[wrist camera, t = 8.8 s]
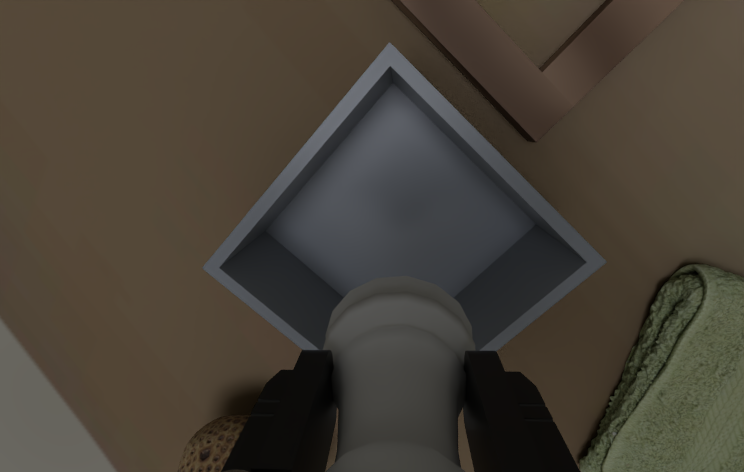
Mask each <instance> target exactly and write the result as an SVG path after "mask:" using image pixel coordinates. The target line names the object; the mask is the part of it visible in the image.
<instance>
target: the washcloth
mask: <svg viewBox="0 0 744 472" xmlns="http://www.w3.org/2000/svg"><path fill="white" fill-rule="evenodd" d="M622 375H623V376H622V380H621V382H620V384H619V385H618V386H617V387H618V389H617V390H615V393H614V396H611V397H610V399H611V400H612V402H609V405H610V407H608V408H607V409H606V411H607V413H606V416H605V417H604V419H602V420H601V424H600V425H599V426H600V429H599V430H597V432H598V436H597V437H596V438H594V439H592V441H591V442H592V443H591V447H590V448H588V454H587V456H584V457H583V458H582V459H580V466H579V469H580V471H581V472H744V278H743V277H742V276H739V275H736V274H733V273H731V272H725V271H723V270H721V269H719V268H717V267H712V266H709V265H706V264H695V265H694V264H690V265H687V266H684V267H682V268H681V269H679V270H678V271H677V272H676V273H675V274H673V275H672V276H671V278H670V279H669V281H668V282H666V283H665V284H664V286H663V287H662V288H661V290H660V291H659V292H658V293H657V297H656V300H655V301H654V303H653V304H652V306H651V308H650V315H649V317H648V318H647V319H646V321H645V323H644V325H643V328H642V329H641V331H640V334H639V342H638V343H637V344H636V345H635V346H634V347H633V348H632V350H631V353H630V356H629V358H628V360H627V362H626V367H625V370H624V372H623V374H622Z"/></svg>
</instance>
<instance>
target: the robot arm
mask: <svg viewBox="0 0 744 472" xmlns="http://www.w3.org/2000/svg"><path fill="white" fill-rule="evenodd" d="M333 369H334V365H333V355H332V351H331V350H302V352H301V353H300V356H299V358H298V360H297V363H296V365H295V367H294V370H280V371H279V372H278V373H277V374H276V375H275V376H274V377H273V378H272V379H270V380H269V381H268V382H267V383H266V385H265V387H264V389H263V391H262V393H261V395H260V397H259V398H258V402H256V404H255V406H254V408H253V410H252V412H251V416H249V418H248V420H247V422H246V424H245V426H244V428H243V430H242V432H241V433H240V435H239V437H238V439H237V441H236V443H235V445H234V447H233V449H232V451H231V453H230V455H229V457H228V459H227V461H226V463H225V465H224V466H223V468H222V470H221V472H325V469H326V465H327V460H328V455H329V451H330V446H331V441H332V437H333V432H334V427H335V422H336V410H337V406H336V405H335V404H334V401H333V392H332V382H331V375H332V372H333ZM464 371H465V373H466V401H465V403H464V405H463V413H464V423H465V429H466V434H467V438H468V443H469V448H470V452H471V457H472V462H473V467H474V471H475V472H580V471H579V469H578V467H577V465H576V463H575V461H574V459H573V457H572V455H571V453H570V451H569V449H568V447H567V445H566V443H565V442H564V440H563V438H562V436H561V434H560V432H559V430H558V428H557V426H556V424H555V422H553V418H552V416H551V414H550V412H549V410H548V408H547V407H545V403H544V401H543V399H542V397H541V395H540V393H539V391H538V389H537V387H536V386H535V385H534V384H533V383H532V382H531V381H530V380H528V379H527V378H526V377H525V376H524V375H523V374H522V373H521V372H505V371H504V368H503V366H502V363H501V361H500V359H499V356H498V354H497V352H496V351H465V355H464Z"/></svg>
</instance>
